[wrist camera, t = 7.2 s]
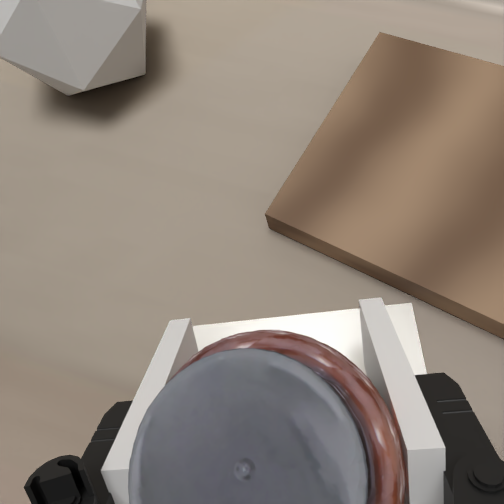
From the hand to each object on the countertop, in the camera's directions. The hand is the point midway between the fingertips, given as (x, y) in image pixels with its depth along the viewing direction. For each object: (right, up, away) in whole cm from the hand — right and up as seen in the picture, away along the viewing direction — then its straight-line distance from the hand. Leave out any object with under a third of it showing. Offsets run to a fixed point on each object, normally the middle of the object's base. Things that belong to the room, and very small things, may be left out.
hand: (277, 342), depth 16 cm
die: (-10, +15, +12) cm, 22 cm away
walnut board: (+10, +6, +5) cm, 12 cm away
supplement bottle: (+1, -5, +2) cm, 5 cm away
